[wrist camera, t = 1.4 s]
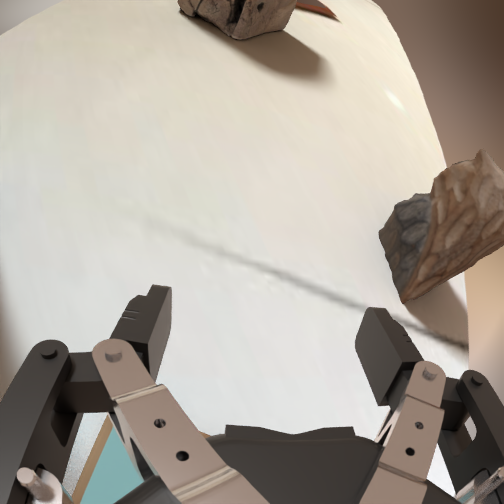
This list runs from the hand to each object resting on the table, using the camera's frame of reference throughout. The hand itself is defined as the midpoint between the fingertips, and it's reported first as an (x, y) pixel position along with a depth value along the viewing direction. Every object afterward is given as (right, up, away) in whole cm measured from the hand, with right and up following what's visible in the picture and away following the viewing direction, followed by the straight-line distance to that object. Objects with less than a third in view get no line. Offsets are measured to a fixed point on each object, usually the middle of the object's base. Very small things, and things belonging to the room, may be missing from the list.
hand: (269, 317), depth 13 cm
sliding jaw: (-11, -15, +8) cm, 21 cm away
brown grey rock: (+22, +1, +31) cm, 38 cm away
